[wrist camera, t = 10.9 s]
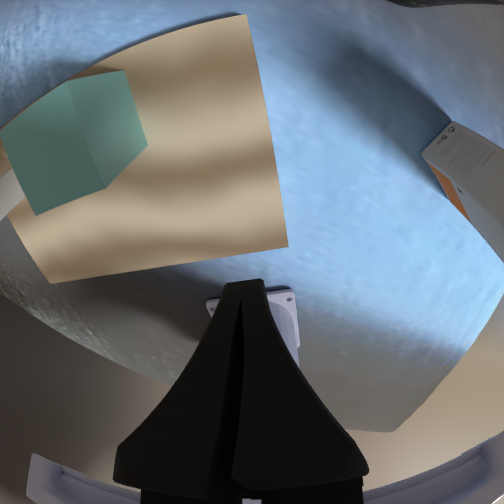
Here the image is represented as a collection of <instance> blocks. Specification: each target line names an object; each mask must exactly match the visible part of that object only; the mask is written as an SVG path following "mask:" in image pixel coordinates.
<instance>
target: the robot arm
mask: <svg viewBox="0 0 504 504" xmlns="http://www.w3.org/2000/svg"><path fill="white" fill-rule="evenodd" d="M206 308H207V310H208V312H209V314H210V316H211V320H210V322H209V325H208V327H207V329H206V331H205V333H204V335H203V337H202V339H201V341H200V342H199V344H198V346H197V348H196V350H195V352H194V354H193V355H192V357H191V359H190V360H189V362H188V364H187V365H186V367H185V369H184V370H183V372H182V373H181V375H180V376H179V378H178V379H177V381H176V382H175V383H174V385H173V386H172V388H171V389H170V390H169V392H168V393H167V394H166V396H165V397H164V398H163V399H162V401H161V402H160V403H159V404H158V405H157V407H156V408H155V409H154V410H153V411H152V412H151V414H150V415H149V416H148V417H147V418H146V419H145V420H144V421H143V422H142V423H141V425H140V426H139V427H138V428H137V429H135V430H134V431H133V432H132V433H131V434H130V435H129V436H128V437H127V438H126V439H125V440H124V441H123V442H122V443H121V444H120V445H119V446H118V448H117V452H116V457H115V464H114V473H113V480H114V482H116V483H119V484H122V485H126V486H130V487H134V488H138V489H141V492H137V491H133V490H129V489H125V488H122V487H118V486H114V485H111V484H108V483H105V482H102V481H99V480H96V479H93V478H90V477H88V476H85V475H84V474H83V473H80V472H77V471H75V470H72V469H70V468H68V467H65V466H62V465H60V464H56V463H54V462H52V461H49V460H47V459H45V458H43V457H41V456H39V455H37V454H35V453H33V454H32V458H31V464H30V470H29V476H28V483H27V493H26V495H27V496H28V497H29V498H30V499H32V500H33V501H35V502H36V503H37V504H493V503H494V502H496V501H497V500H498V499H500V498H501V497H502V496H503V495H504V431H502V432H501V433H499V434H498V435H496V436H494V437H492V438H489V439H488V440H486V441H484V442H482V443H480V444H479V445H477V446H475V447H473V448H471V449H470V450H468V451H466V452H464V453H462V455H461V456H459V457H457V458H455V459H453V460H450V461H448V462H446V463H444V464H442V465H440V466H437V467H435V468H433V469H430V470H428V471H426V472H423V473H421V474H418V475H415V476H413V477H410V478H407V479H404V480H401V481H398V482H395V483H392V484H389V485H386V486H383V487H379V488H376V489H371V490H368V491H364V492H363V491H362V486H363V478H362V476H365V475H367V474H368V473H369V467H368V464H367V462H366V460H365V458H364V456H363V454H362V453H361V451H360V450H359V448H358V446H357V444H356V443H355V441H354V440H353V439H352V437H351V436H350V435H349V434H348V433H347V432H346V431H345V430H344V428H343V427H342V426H341V425H340V424H339V423H338V421H337V420H336V419H335V418H334V417H333V415H332V414H331V413H330V412H329V410H328V409H327V408H326V407H325V405H324V404H323V402H322V401H321V400H320V398H319V397H318V396H317V394H316V393H315V391H314V390H313V389H312V387H311V386H310V384H309V383H308V381H307V380H306V378H305V377H304V375H303V374H302V372H301V370H300V368H299V360H298V352H297V348H298V347H299V346H300V340H299V330H298V321H297V312H296V303H295V295H294V291H293V290H292V289H285V290H278V291H272V292H266V289H265V285H264V280H262V279H260V278H259V279H252V280H245V281H238V282H231V283H226V285H225V286H224V289H223V291H222V294H221V297H220V299H211V300H208V301H207V302H206Z"/></svg>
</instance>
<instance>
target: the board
mask: <svg viewBox="0 0 504 504" xmlns="http://www.w3.org/2000/svg"><path fill="white" fill-rule="evenodd" d="M123 70H125V74H126V77H127V81H128V84H129V87H130V91H131V94H132V97H133V100H134V104H135V107H136V110H137V113H138V116H139V119H140V122H141V125H142V128H143V131H144V134H145V137H146V140H147V143H148V146H147V147H146V148H145V149H144V150H143V151H142V152H141V153H140V154H139V155H138V156H137V157H136V158H135V159H134V160H133V161H132V162H131V163H130V164H129V165H128V166H127V167H126V168H125V169H124V170H123V171H122V172H121V173H120V174H119V175H118V176H117V177H116V178H115V179H114V180H113V181H112V183H111V184H110V185H109V186H108V187H107V188H106V189H103V190H100V191H98V192H95V193H92V194H89V195H87V196H84V197H81V198H79V199H76V200H73V201H71V202H68V203H66V204H63V205H61V206H58V207H56V208H54V209H51V210H49V211H47V212H44V213H42V214H40V215H37V216H35V214H34V212H33V210H32V208H31V206H30V204H29V202H28V200H27V198H26V196H25V197H24V198H23V199H22V200H21V201H20V202H19V203H18V204H17V205H16V206H15V207H14V208H13V209H12V210H11V211H10V212H9V213H8V214H7V216H8V218H9V220H10V221H11V223H12V225H13V227H14V229H15V230H16V232H17V234H18V236H19V237H20V239H21V241H22V242H23V244H24V246H25V247H26V249H27V251H28V252H29V254H30V255H31V257H32V258H33V260H34V261H35V263H36V264H37V266H38V267H39V269H40V270H41V272H42V273H43V275H44V276H45V277H46V279H47V280H48V282H49V283H50V284H53V283H60V282H66V281H73V280H79V279H86V278H92V277H99V276H105V275H112V274H118V273H125V272H131V271H137V270H144V269H150V268H157V267H163V266H170V265H176V264H183V263H189V262H195V261H202V260H208V259H215V258H221V257H228V256H234V255H240V254H247V253H253V252H260V251H266V250H272V249H279V248H285V247H288V240H287V232H286V225H285V218H284V212H283V205H282V198H281V192H280V186H279V179H278V173H277V167H276V161H275V155H274V149H273V144H272V138H271V132H270V127H269V121H268V116H267V110H266V105H265V100H264V95H263V90H262V85H261V80H260V75H259V70H258V65H257V60H256V56H255V51H254V46H253V42H252V37H251V33H250V29H249V24H248V20H247V16H246V14H244V15H238V16H232V17H227V18H222V19H218V20H213V21H209V22H205V23H201V24H197V25H194V26H190V27H186V28H183V29H180V30H176V31H173V32H170V33H167V34H164V35H161V36H158V37H156V38H153V39H150V40H148V41H145V42H142V43H140V44H137V45H135V46H132V47H130V48H128V49H125V50H123V51H121V52H119V53H116V54H114V55H112V56H110V57H108V58H106V59H104V60H102V61H100V62H98V63H96V64H94V65H92V66H90V67H88V68H87V69H85V70H83V71H81V72H79V73H78V74H76V75H74V76H72V77H71V78H69V79H67V80H66V81H70V80H74V79H78V78H83V77H88V76H93V75H98V74H103V73H109V72H116V71H123ZM66 81H64V82H66ZM64 82H62V83H61V84H63V83H64ZM61 84H59V85H58V86H60V85H61ZM58 86H56V87H55V88H57V87H58ZM55 88H53V89H52V90H54V89H55ZM52 90H50V91H48V92H47V93H46V94H48V93H49V92H51V91H52ZM46 94H44V95H43V96H45V95H46ZM43 96H41V97H40V98H38V99H37V100H36V101H38V100H39V99H41V98H42V97H43ZM36 101H34V102H33V103H31V104H30V105H29V106H27V107H26V108H25V109H23V110H22V111H21V112H20V113H18V114H17V115H16V116H15V117H13V118H12V119H11V120H10V121H9V122H7V123H6V124H5V125H4V126H3V127H2V128H0V131H1V130H2V129H3V128H4V127H5V126H6V125H7V124H9V123H10V122H11V121H12V120H13V119H15V118H16V117H17V116H18V115H19V114H21V113H22V112H23V111H25V110H26V109H27V108H28V107H30V106H31V105H32V104H34V103H35V102H36ZM11 169H12V166H11V163H10V161H9V158H8V156H7V153H6V151H5V148H4V145H3V143H2V140H1V137H0V177H1V176H2V175H4V174H5V173H6V172H8V171H9V170H11Z"/></svg>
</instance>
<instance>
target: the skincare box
mask: <svg viewBox="0 0 504 504" xmlns="http://www.w3.org/2000/svg"><path fill="white" fill-rule="evenodd" d="M421 156H422V157H423V158H424V160H425V161H426V163H427V164H428V165H429V167H430V169H431V170H432V172H433V173H434V175H435V176H436V178H437V179H438V181H439V183H440V185H441V187H442V188H443V190H444V192H445V194H446V196H447V198H448V200H449V201H450V202H451V203H452V204H453V205H454V206H455V207H456V208H457V209H458V210H459V211H460V212H461V214H462V215H463V216H464V217H465V218H466V219H467V220H468V221H469V222H470V223H471V224H472V225H473V227H474V228H475V229H476V230H477V231H478V232H479V233H480V235H481V236H482V237H483V238H484V239H485V240H486V242H487V243H488V244H489V245H490V246H491V248H492V249H493V250H494V251H495V253H496V254H497V255H498V256H499V258H500V259H501V260H502V262H503V263H504V149H502V148H501V147H499V146H498V145H496V144H495V143H493V142H491V141H490V140H488V139H486V138H485V137H483V136H481V135H479V134H478V133H476V132H474V131H472V130H470V129H469V128H467V127H465V126H463V125H461V124H459V123H457V122H455V121H452V122H451V123H450V124H449V125H448V126H447V127H446V128H445V129H444V130H443V131H442V132H441V133H440V134H439V135H438V136H437V137H436V138H435V139H434V140H433V141H432V142H431V143H430V144H429V145H428V146H427V147H426V148H425V149H424V150H423V151H422V152H421Z"/></svg>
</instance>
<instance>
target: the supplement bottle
mask: <svg viewBox="0 0 504 504" xmlns="http://www.w3.org/2000/svg"><path fill="white" fill-rule="evenodd" d="M388 1H390V2H392V3H395V4H398V5H401V6H405V7H411V8H421V7H431V6H441V5H456V4H494V5H504V0H388Z"/></svg>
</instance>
